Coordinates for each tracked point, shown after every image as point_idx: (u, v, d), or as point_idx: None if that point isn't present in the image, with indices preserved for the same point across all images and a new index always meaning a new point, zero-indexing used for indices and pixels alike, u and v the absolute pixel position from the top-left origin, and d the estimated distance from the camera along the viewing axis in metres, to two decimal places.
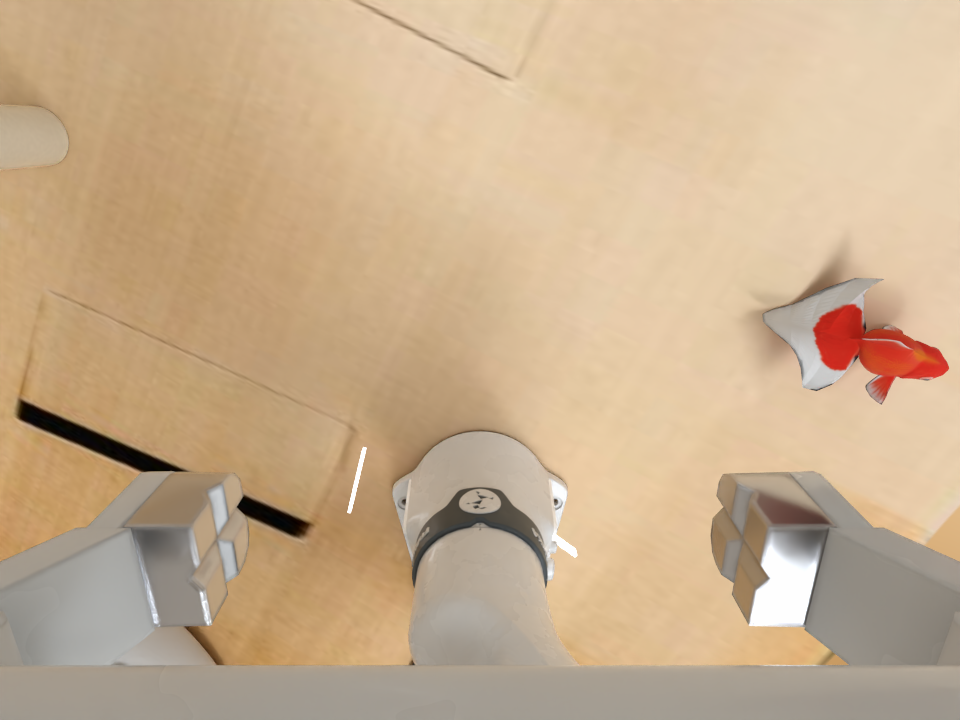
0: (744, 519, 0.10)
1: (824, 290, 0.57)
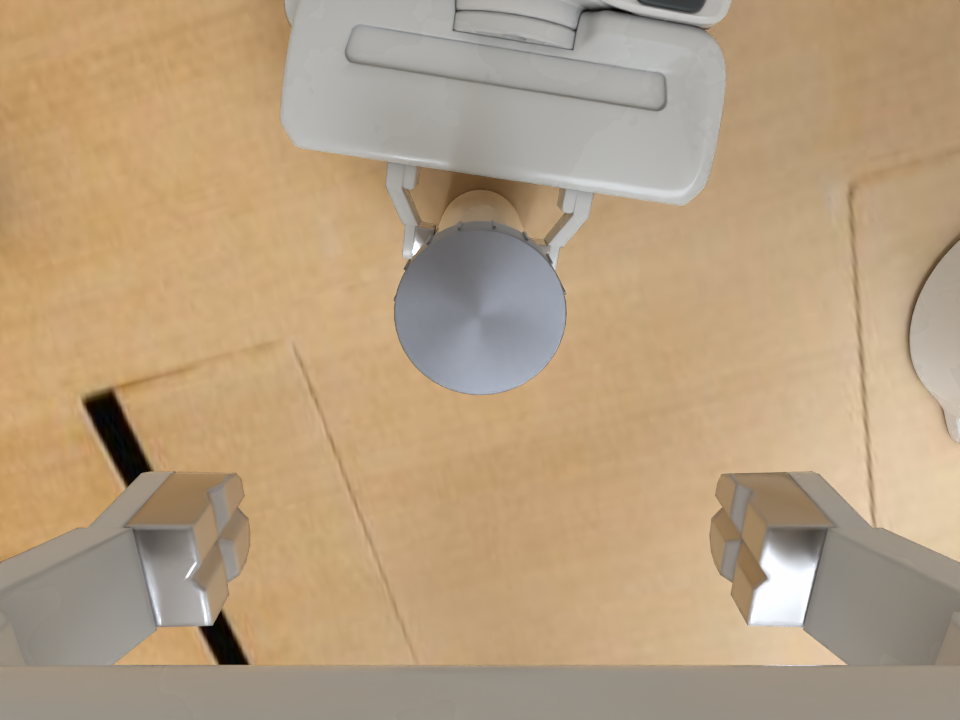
0: (743, 519, 0.10)
1: None
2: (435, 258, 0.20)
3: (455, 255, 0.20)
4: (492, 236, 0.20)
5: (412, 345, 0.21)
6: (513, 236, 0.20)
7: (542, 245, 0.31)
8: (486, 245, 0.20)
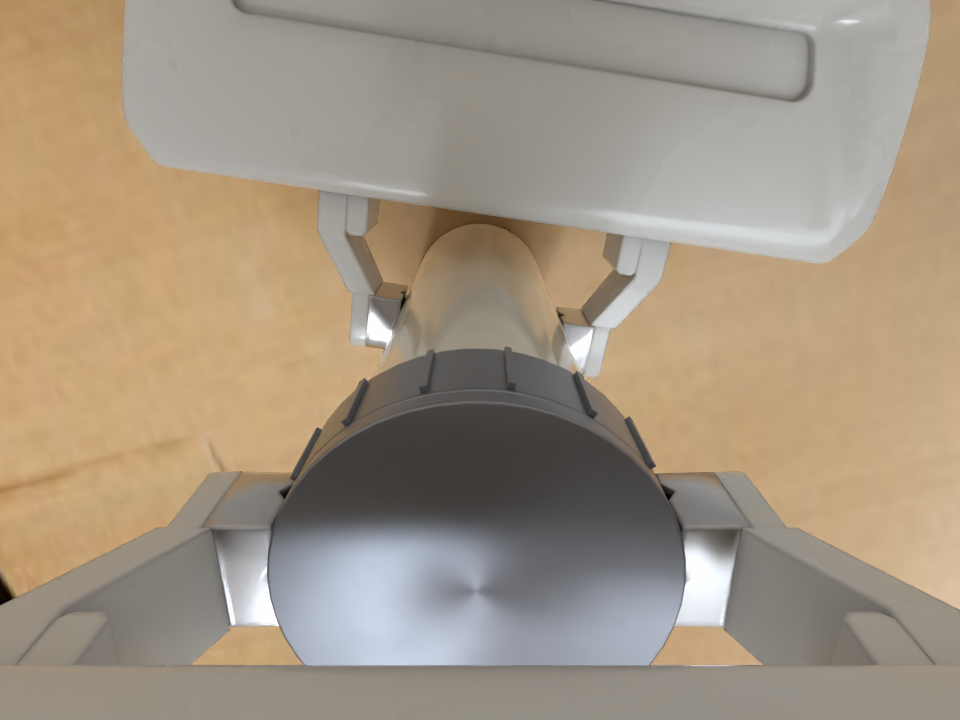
0: None
1: None
2: (361, 467, 0.08)
3: (410, 461, 0.08)
4: (507, 417, 0.08)
5: (315, 648, 0.09)
6: (562, 415, 0.08)
7: (581, 325, 0.18)
8: (492, 438, 0.08)
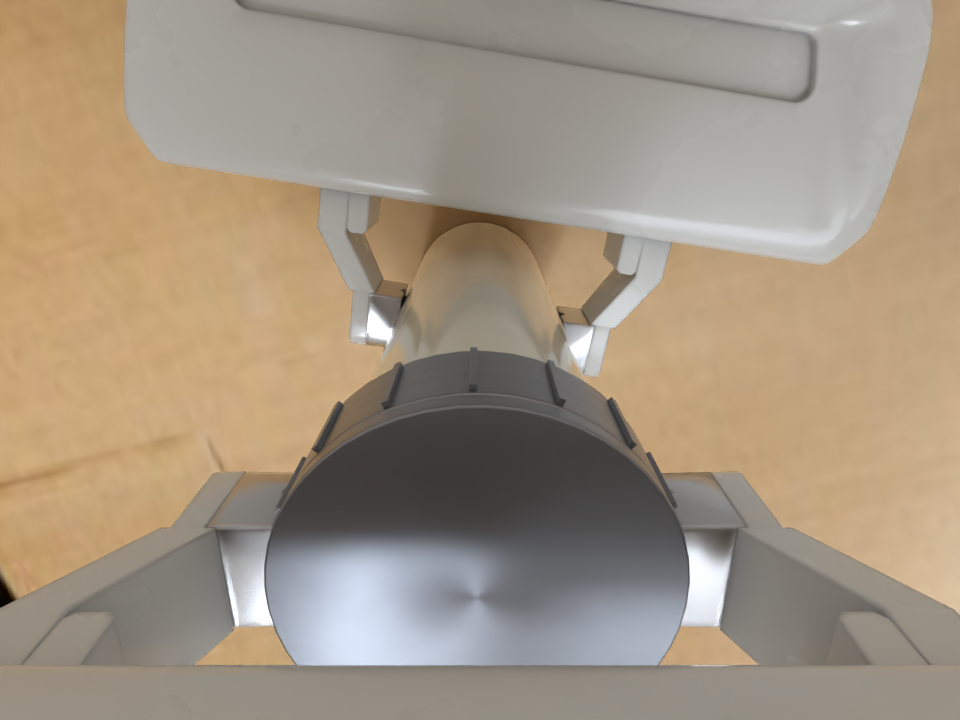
0: None
1: None
2: (319, 653, 0.09)
3: (319, 617, 0.08)
4: (282, 539, 0.08)
5: None
6: (291, 493, 0.08)
7: (581, 324, 0.18)
8: (303, 555, 0.08)
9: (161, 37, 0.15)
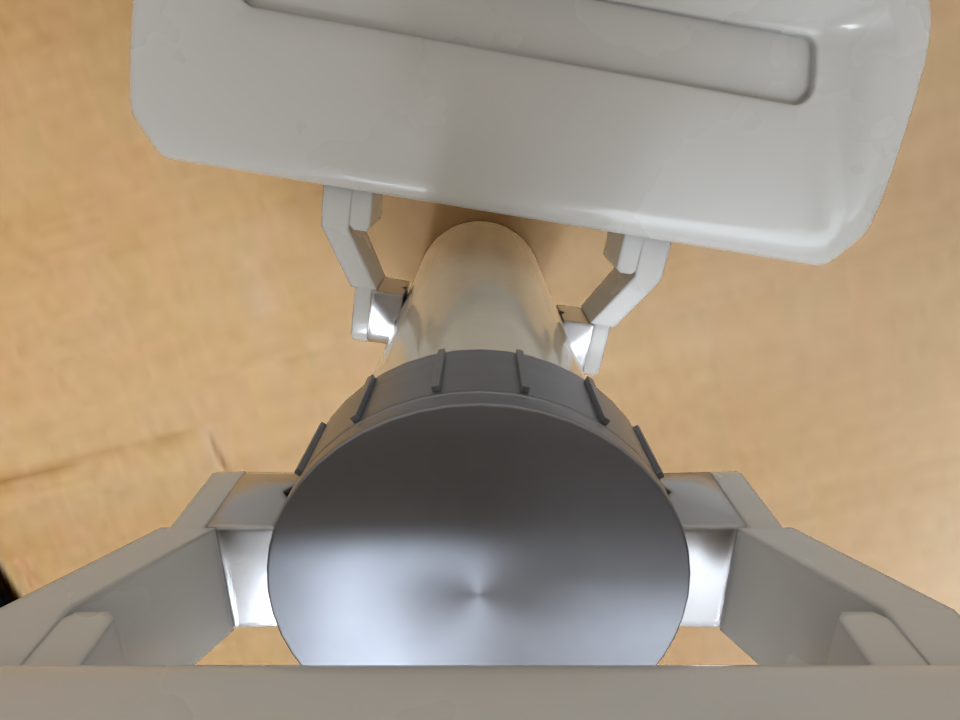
0: None
1: None
2: None
3: None
4: None
5: (662, 599, 0.08)
6: None
7: (581, 323, 0.19)
8: None
9: (167, 34, 0.15)
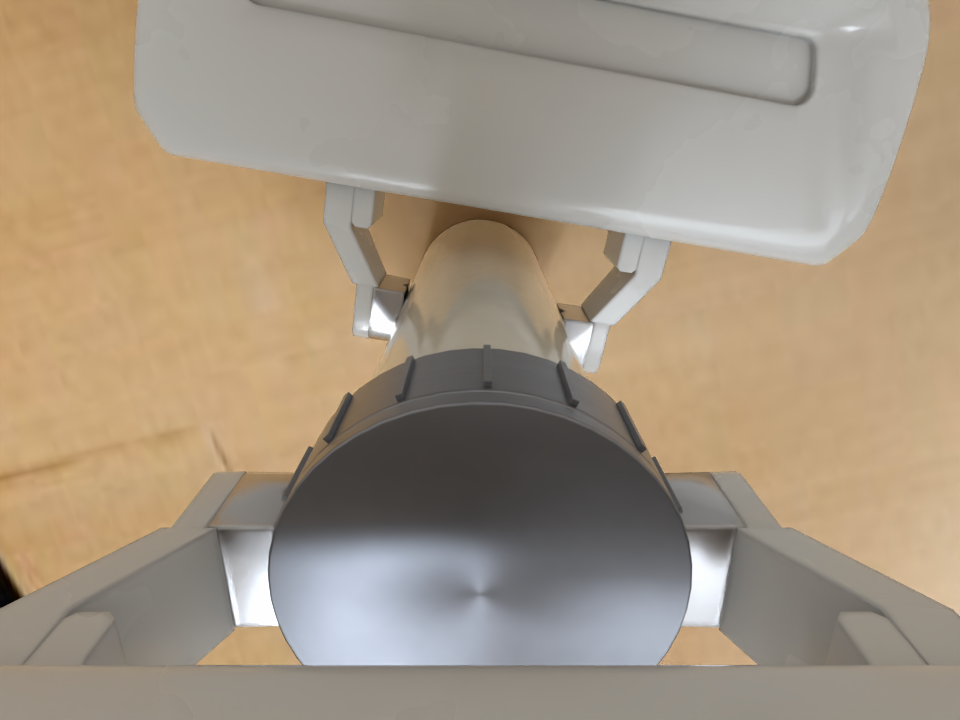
0: None
1: None
2: (658, 598, 0.08)
3: (631, 629, 0.09)
4: None
5: (530, 435, 0.07)
6: None
7: (581, 321, 0.19)
8: None
9: (172, 31, 0.15)
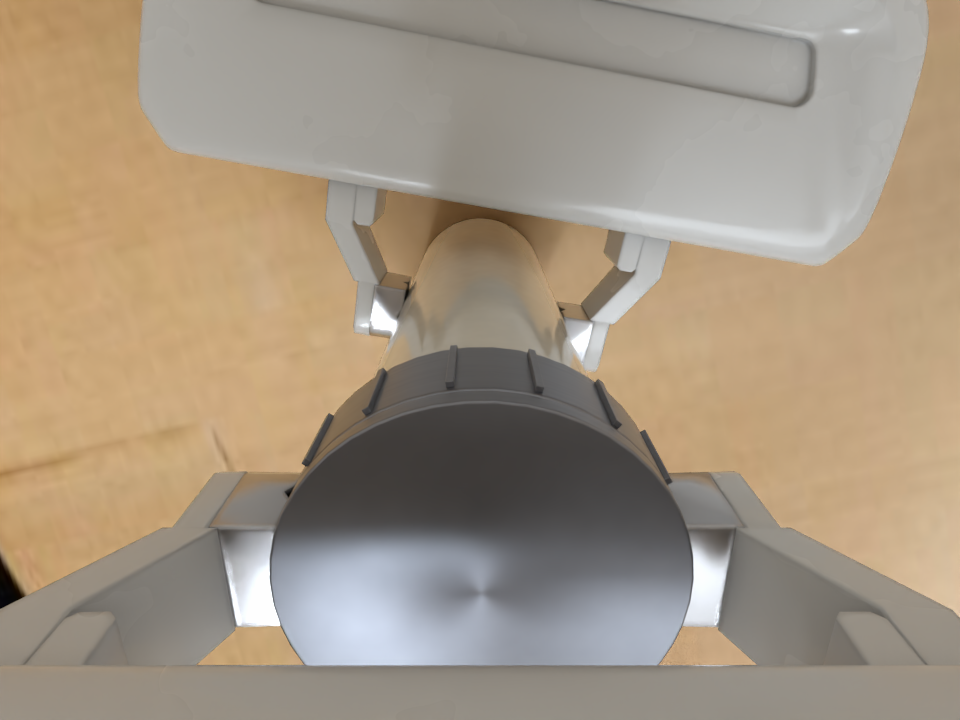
0: None
1: None
2: (530, 439, 0.08)
3: (567, 471, 0.08)
4: (662, 507, 0.08)
5: (307, 524, 0.08)
6: (688, 537, 0.08)
7: (581, 320, 0.19)
8: (635, 509, 0.08)
9: (177, 28, 0.15)
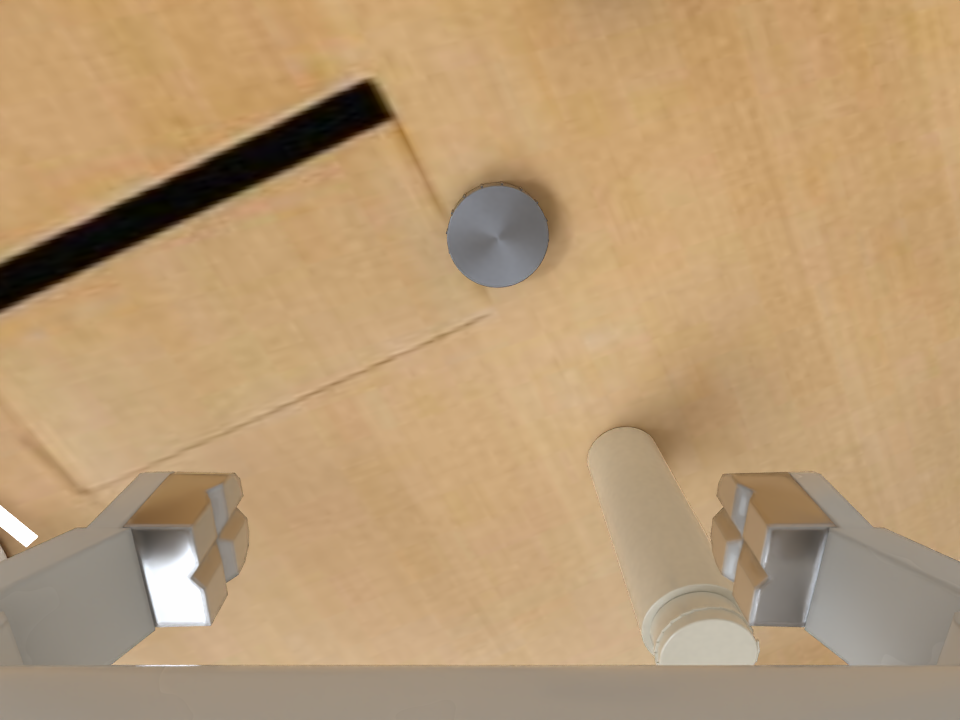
0: (744, 519, 0.10)
1: None
2: (459, 218, 0.35)
3: (468, 212, 0.34)
4: (482, 191, 0.34)
5: (470, 272, 0.36)
6: (493, 186, 0.34)
7: None
8: (481, 198, 0.34)
9: None
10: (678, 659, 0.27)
